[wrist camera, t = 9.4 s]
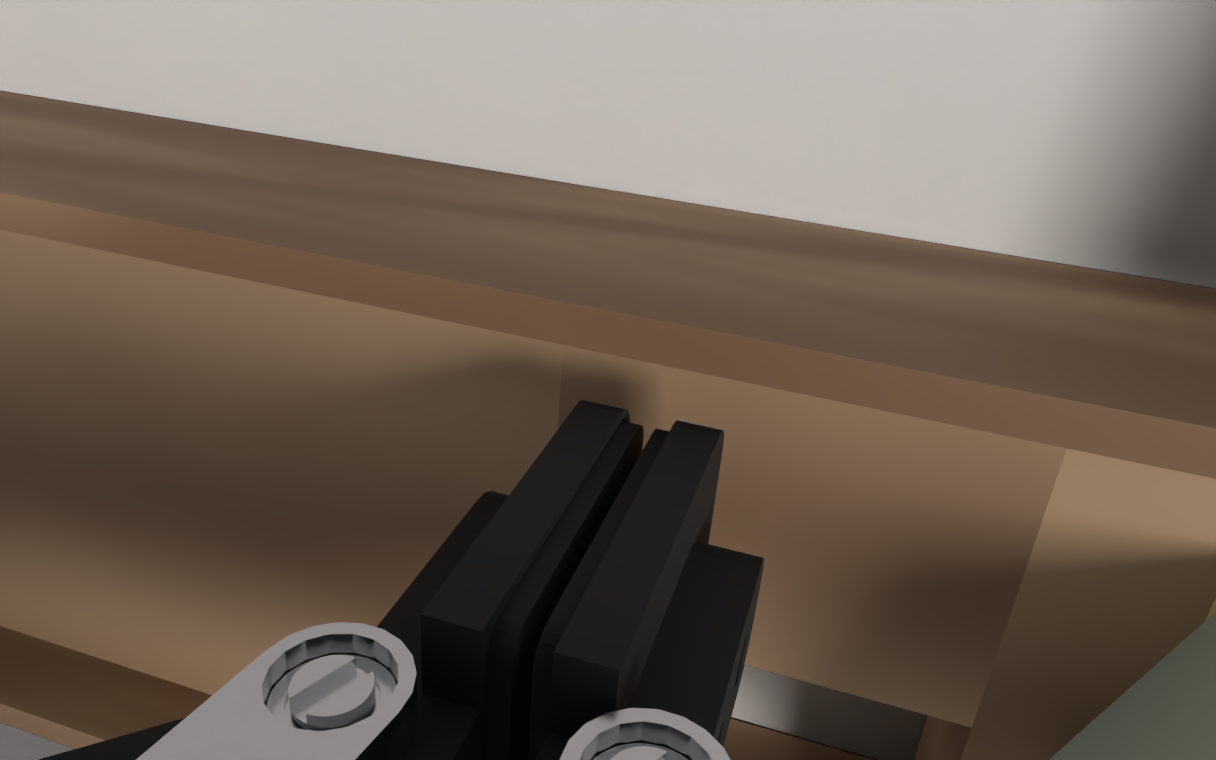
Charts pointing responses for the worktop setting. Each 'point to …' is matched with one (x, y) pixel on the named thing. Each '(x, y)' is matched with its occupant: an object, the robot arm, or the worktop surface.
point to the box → (541, 401)
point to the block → (1160, 710)
